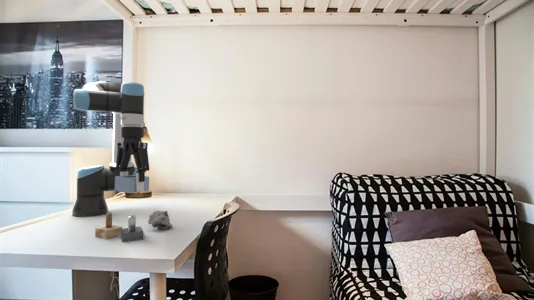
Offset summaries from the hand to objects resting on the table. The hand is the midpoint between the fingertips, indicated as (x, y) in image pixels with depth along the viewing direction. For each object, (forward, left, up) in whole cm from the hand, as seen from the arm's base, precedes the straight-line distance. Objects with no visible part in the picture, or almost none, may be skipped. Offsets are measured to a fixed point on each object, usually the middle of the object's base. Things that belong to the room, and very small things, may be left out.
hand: (131, 190), depth 109 cm
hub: (0, 0, -17) cm, 17 cm away
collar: (0, 0, 0) cm, 0 cm away
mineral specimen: (-9, +12, -17) cm, 23 cm away
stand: (-8, -7, -17) cm, 20 cm away
